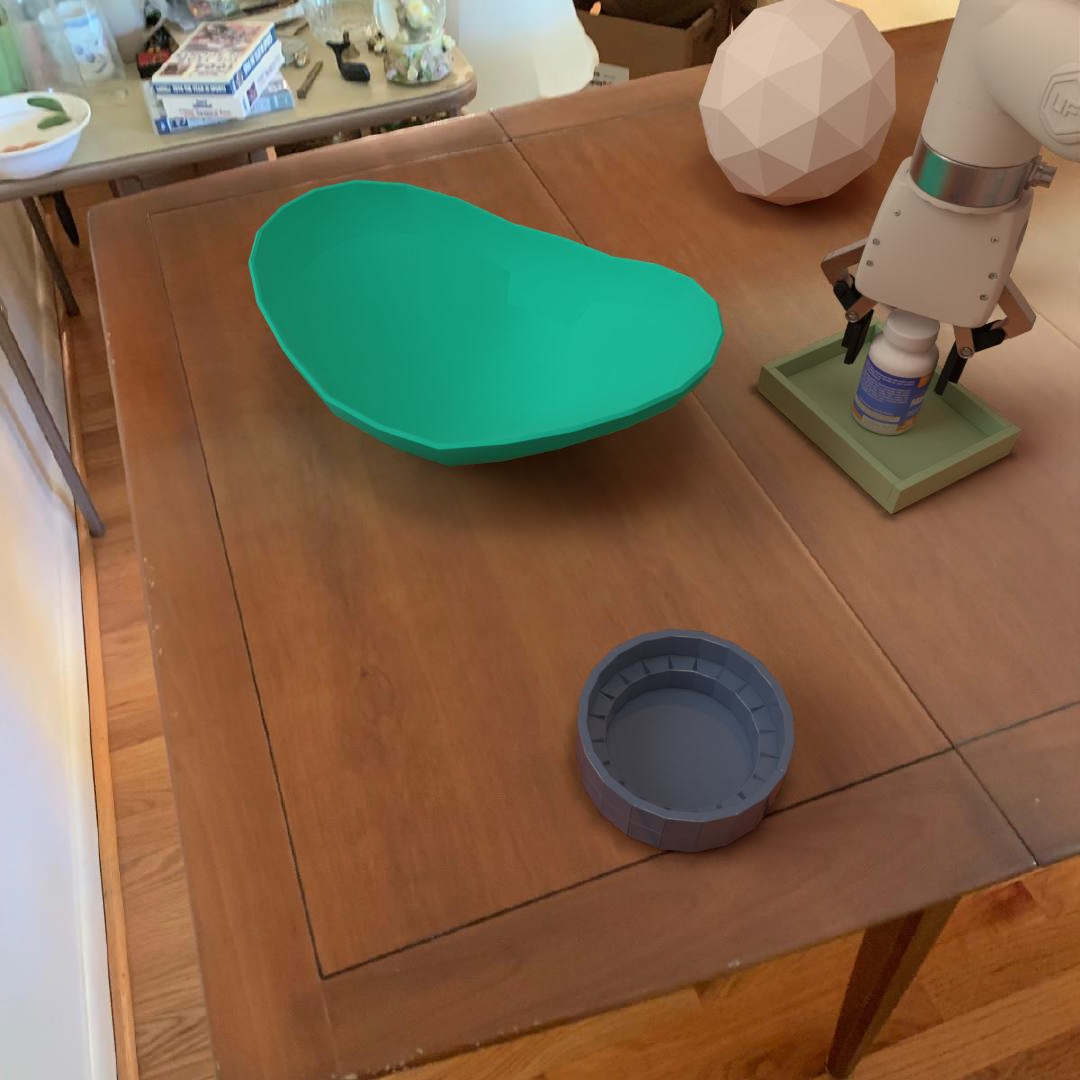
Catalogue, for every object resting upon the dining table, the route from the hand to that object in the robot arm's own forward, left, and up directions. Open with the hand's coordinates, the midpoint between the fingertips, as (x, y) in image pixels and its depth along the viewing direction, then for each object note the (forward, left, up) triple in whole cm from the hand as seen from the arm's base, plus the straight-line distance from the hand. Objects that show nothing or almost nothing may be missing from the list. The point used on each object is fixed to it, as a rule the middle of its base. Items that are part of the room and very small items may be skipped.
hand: (897, 368), depth 79 cm
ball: (+33, -16, -6) cm, 37 cm away
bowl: (-17, +33, -6) cm, 38 cm away
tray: (0, 0, -6) cm, 6 cm away
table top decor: (+19, +28, -6) cm, 34 cm away
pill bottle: (0, 0, -5) cm, 5 cm away
